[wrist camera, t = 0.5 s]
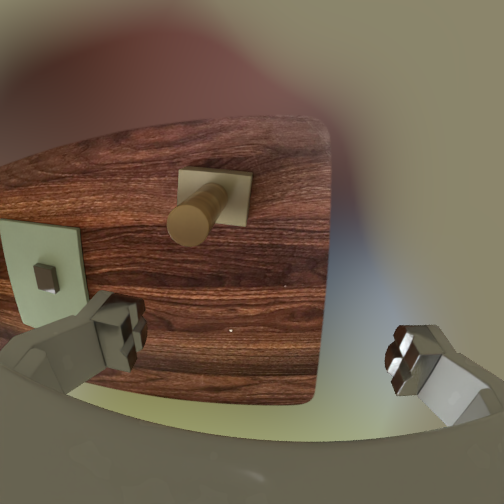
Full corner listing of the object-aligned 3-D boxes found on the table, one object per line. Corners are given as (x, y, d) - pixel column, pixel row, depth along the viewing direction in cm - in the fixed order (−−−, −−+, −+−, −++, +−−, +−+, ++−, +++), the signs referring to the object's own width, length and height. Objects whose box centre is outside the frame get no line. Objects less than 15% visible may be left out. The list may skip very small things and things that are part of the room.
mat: (1, 218, 33) (-2, 219, 32) (79, 227, 33) (76, 229, 32) (25, 321, 41) (23, 323, 40) (99, 346, 41) (97, 349, 40)
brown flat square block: (37, 262, 35) (32, 265, 34) (55, 266, 35) (50, 269, 33) (42, 285, 36) (38, 289, 35) (60, 290, 36) (55, 294, 35)
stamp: (187, 165, 30) (140, 185, 18) (253, 172, 29) (242, 195, 18) (184, 211, 31) (141, 253, 20) (247, 218, 31) (235, 266, 20)
